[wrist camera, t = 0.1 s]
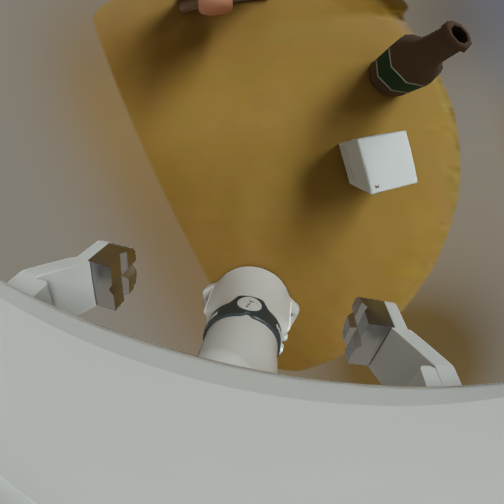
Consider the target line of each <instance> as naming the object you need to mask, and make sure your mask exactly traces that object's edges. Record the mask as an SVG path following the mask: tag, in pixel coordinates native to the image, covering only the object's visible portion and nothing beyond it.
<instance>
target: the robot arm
mask: <svg viewBox="0 0 504 504" xmlns="http://www.w3.org/2000/svg"><path fill="white" fill-rule="evenodd" d="M135 260H136V255H135V251H134V249H133V248H129V247H125V246H121V245H117V244H114V243H110V242H106V241H101V240H99V241H97V242H96V243H95V244H93V245H92V246H90V247H89V248H88V249H87V250H86V251H84V252H83V253H82V254H80V255H79V256H78V257H70V258H67V259H63V260H59V261H55V262H51V263H47V264H44V265H40V266H36V267H33V268H29V269H25V270H22V271H21V272H20V273H18V274H17V275H16V276H15V277H13V278H12V279H11V280H10V281H9V282H7V283H5V282H4V281H2V280H0V504H504V382H501V383H491V384H481V385H465V386H462V385H461V383H460V380H459V378H458V376H457V373H456V371H455V369H454V367H453V365H451V364H450V363H449V362H448V361H447V360H446V359H444V358H443V357H442V356H441V355H440V354H439V353H437V352H436V351H435V350H434V349H433V348H432V347H430V346H429V345H428V344H427V343H426V342H425V341H423V340H422V339H421V338H420V337H419V336H417V335H416V334H415V333H414V332H413V331H411V330H408V329H407V327H406V325H405V323H404V321H403V318H402V316H401V314H400V312H399V310H398V308H397V306H396V304H395V303H394V302H387V301H380V300H373V299H367V298H361V297H357V298H356V299H355V301H354V303H353V305H352V309H353V313H351V314H350V315H348V316H347V319H346V321H345V324H344V328H343V339H344V342H345V343H346V344H347V347H346V349H345V351H346V357H347V362H348V363H352V364H359V365H367V366H369V368H370V369H371V371H372V372H373V373H374V375H375V376H376V377H377V379H378V380H379V381H380V383H381V384H382V385H367V384H355V383H344V382H334V381H326V380H317V379H310V378H303V377H296V376H289V375H283V374H278V369H277V357H278V355H280V354H281V353H282V351H283V347H284V345H283V344H282V341H286V340H287V338H288V334H287V333H288V331H289V330H290V327H291V326H292V324H293V322H294V320H295V318H296V317H297V315H298V313H299V305H298V304H297V303H296V302H295V301H294V300H293V299H292V298H291V297H290V296H289V294H288V292H287V289H286V287H285V285H284V284H283V283H282V281H281V280H280V279H279V278H278V277H277V276H276V275H274V274H273V273H271V272H269V271H267V270H265V269H262V268H258V267H240V268H237V269H234V270H232V271H230V272H228V273H227V274H225V275H224V276H223V277H222V278H221V279H220V280H219V281H218V282H216V283H213V284H210V285H208V286H206V287H205V288H204V290H203V301H204V314H205V319H206V327H205V330H204V335H203V344H202V346H201V349H200V351H199V353H198V356H194V355H190V354H187V353H183V352H179V351H176V350H172V349H169V348H165V347H162V346H159V345H156V344H152V343H149V342H146V341H143V340H140V339H137V338H134V337H131V336H128V335H125V334H122V333H119V332H117V331H113V330H111V329H108V328H106V327H103V326H100V325H98V324H95V323H92V322H90V321H87V320H85V319H82V318H80V317H78V316H77V315H79V314H81V313H83V312H85V311H87V310H89V309H91V308H93V307H95V306H96V305H99V306H102V307H105V308H108V309H112V310H115V311H116V309H117V308H118V307H119V306H120V305H121V303H122V302H123V301H124V295H127V294H129V293H130V292H131V291H132V290H133V288H134V285H135V282H136V269H135V267H134V266H133V263H134V262H135ZM208 297H209V298H208ZM291 313H292V315H291Z"/></svg>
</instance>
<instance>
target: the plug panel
mask: <svg viewBox="0 0 504 504" xmlns="http://www.w3.org/2000/svg"><path fill="white" fill-rule="evenodd" d="M178 1H179V2H180V11H181V12H182V13H185V12H189V11H193V10H198V9H199V6H198V0H178ZM232 1H233V3H236V2H244V1H252V0H232Z"/></svg>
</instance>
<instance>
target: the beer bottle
mask: <svg viewBox="0 0 504 504" xmlns="http://www.w3.org/2000/svg"><path fill="white" fill-rule="evenodd" d="M471 44H472V43H471V39H470V35H469V33H468V32H467V31H466V29H465V28H464V27H463V26H462V25H461V24H459V23H456V22H454V21H447V22H446V23H445V24H443V25H442V26H441V28H440V29H438V30H436V31H434V32H432V33H431V34H429V35H427V36H424V37H420V36H416V35H404V36H403V37H401V38H400V39H399V40H397V41H396V42H395V43H394V44H393V45H392V46H390V47H389V48H388V49H387V50H386V51H385V52H384V53H383V54H382V55H381V56H379V57H378V58H377V59H376V60H375V61H374V62H373V63H372V64H371V65H370V66H369V70H370V79H371V83H372V84H373V85H374V86H375V87H376V88H377V89H378V90H379V91H380V92H381V93H382V94H385V95H392V96H401V95H404V94H406V93H409V92H411V91H414V90H416V89H419V88H421V87H424V86H426V85H428V84H429V83H431V82H432V81H433V80H434V79H435V78H436V77H437V76H438V75H439V74H440V73H441V71H442V69H443V66H442V62H443V61H444V60H446V59H447V58H449V57H451V56H453V55H454V54H456V53H458V52H459V51H462V52H465V51H466V50H467V49H468V48H469V47H470V45H471Z"/></svg>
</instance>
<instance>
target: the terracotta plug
mask: <svg viewBox="0 0 504 504" xmlns="http://www.w3.org/2000/svg"><path fill="white" fill-rule="evenodd" d="M198 6H199V12H200V13H201V14H203V15H207V16H218V15H223V14H226V13H228V12H230V11H231V10H232V9H233V1H232V0H198Z"/></svg>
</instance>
